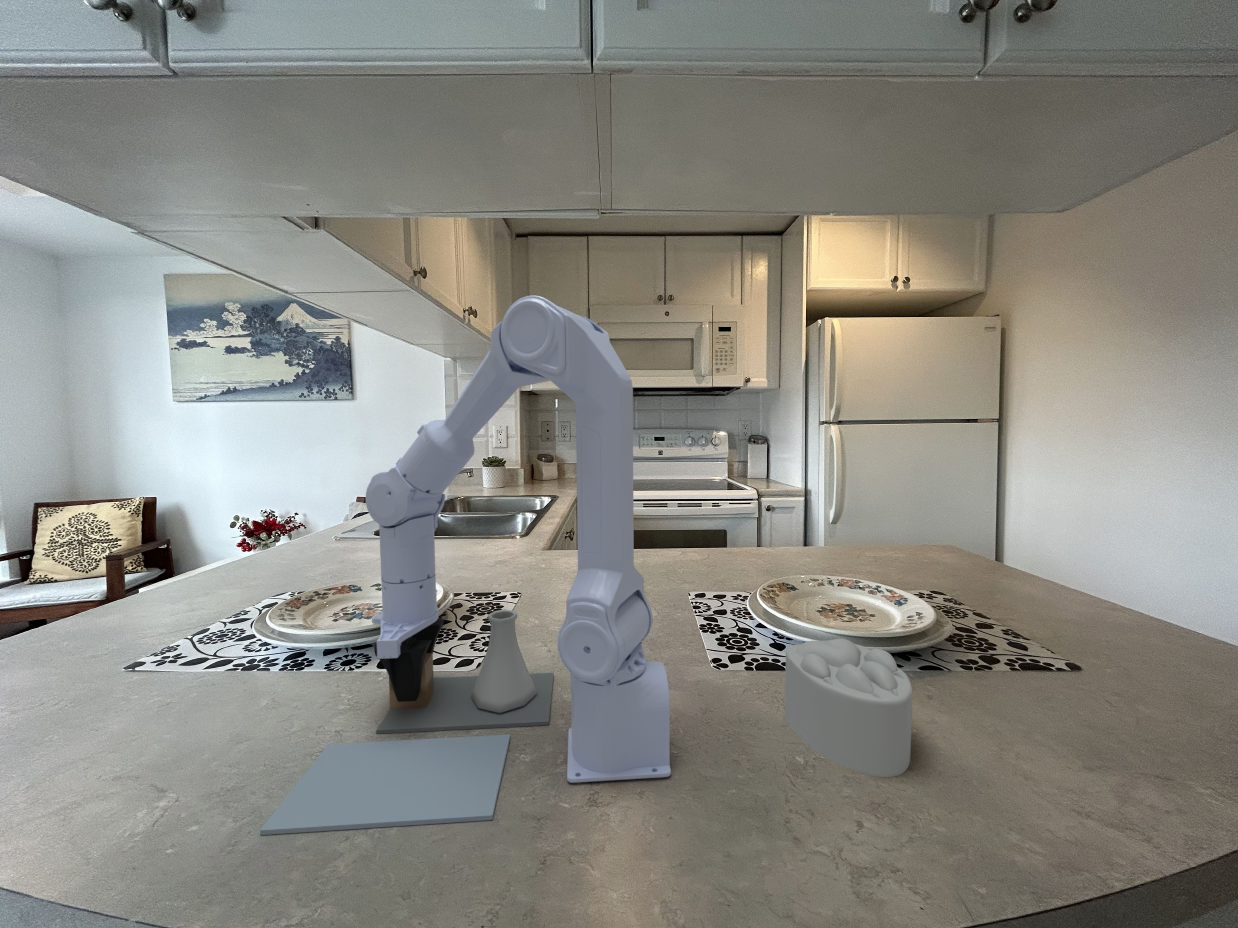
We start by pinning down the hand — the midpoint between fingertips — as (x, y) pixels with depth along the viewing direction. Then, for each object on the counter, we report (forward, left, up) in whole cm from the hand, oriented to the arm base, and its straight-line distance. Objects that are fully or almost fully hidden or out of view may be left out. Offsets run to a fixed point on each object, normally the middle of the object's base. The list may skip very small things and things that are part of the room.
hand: (412, 691), depth 59 cm
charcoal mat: (-7, 0, -2) cm, 7 cm away
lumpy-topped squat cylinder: (-47, +10, -2) cm, 48 cm away
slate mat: (-3, +13, -2) cm, 13 cm away
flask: (-10, 0, -1) cm, 10 cm away
